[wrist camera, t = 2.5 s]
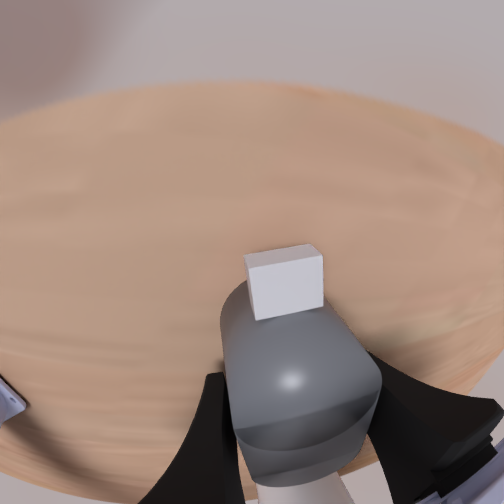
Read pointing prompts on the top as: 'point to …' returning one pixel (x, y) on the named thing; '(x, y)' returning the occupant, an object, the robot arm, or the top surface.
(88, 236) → the top surface
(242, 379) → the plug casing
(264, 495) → the drinking glass
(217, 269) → the top surface
